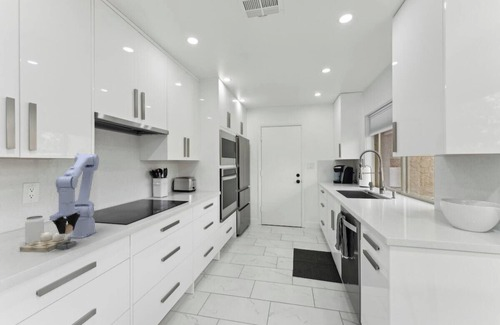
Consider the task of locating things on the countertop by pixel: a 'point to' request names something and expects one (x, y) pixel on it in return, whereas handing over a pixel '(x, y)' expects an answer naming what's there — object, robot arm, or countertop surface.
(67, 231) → the brown egg
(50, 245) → the carton
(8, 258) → the countertop surface
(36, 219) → the can
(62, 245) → the egg stand
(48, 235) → the white egg
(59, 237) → the white egg
